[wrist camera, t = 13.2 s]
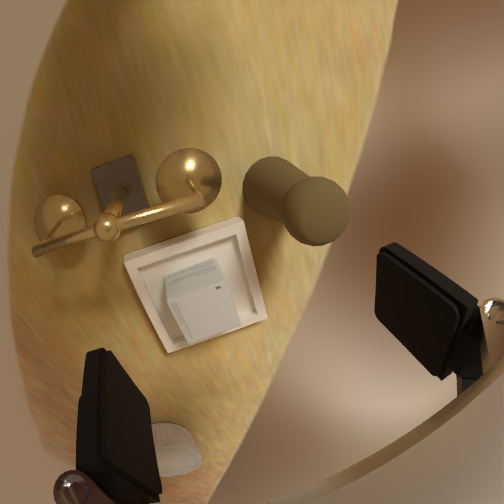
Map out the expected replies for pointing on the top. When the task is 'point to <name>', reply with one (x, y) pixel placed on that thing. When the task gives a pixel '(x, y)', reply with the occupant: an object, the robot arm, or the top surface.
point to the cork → (297, 200)
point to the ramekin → (175, 450)
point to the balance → (128, 200)
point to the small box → (201, 301)
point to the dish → (186, 255)
